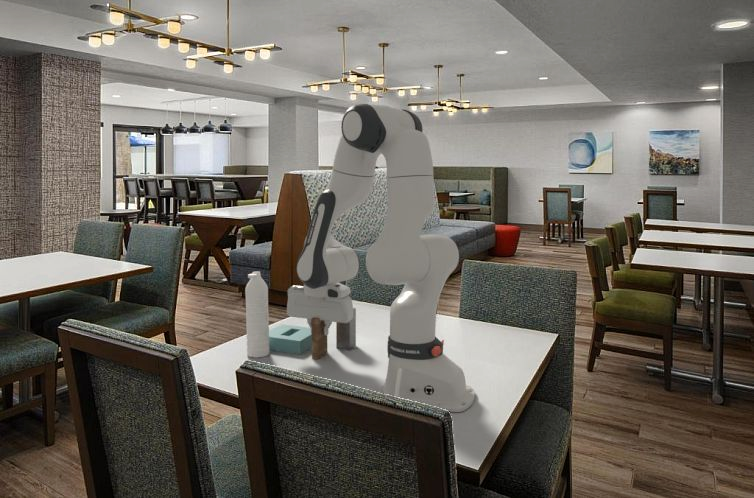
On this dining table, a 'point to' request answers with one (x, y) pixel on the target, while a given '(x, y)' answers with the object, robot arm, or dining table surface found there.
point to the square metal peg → (346, 333)
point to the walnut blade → (318, 339)
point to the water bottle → (257, 316)
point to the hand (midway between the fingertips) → (319, 334)
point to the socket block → (290, 338)
